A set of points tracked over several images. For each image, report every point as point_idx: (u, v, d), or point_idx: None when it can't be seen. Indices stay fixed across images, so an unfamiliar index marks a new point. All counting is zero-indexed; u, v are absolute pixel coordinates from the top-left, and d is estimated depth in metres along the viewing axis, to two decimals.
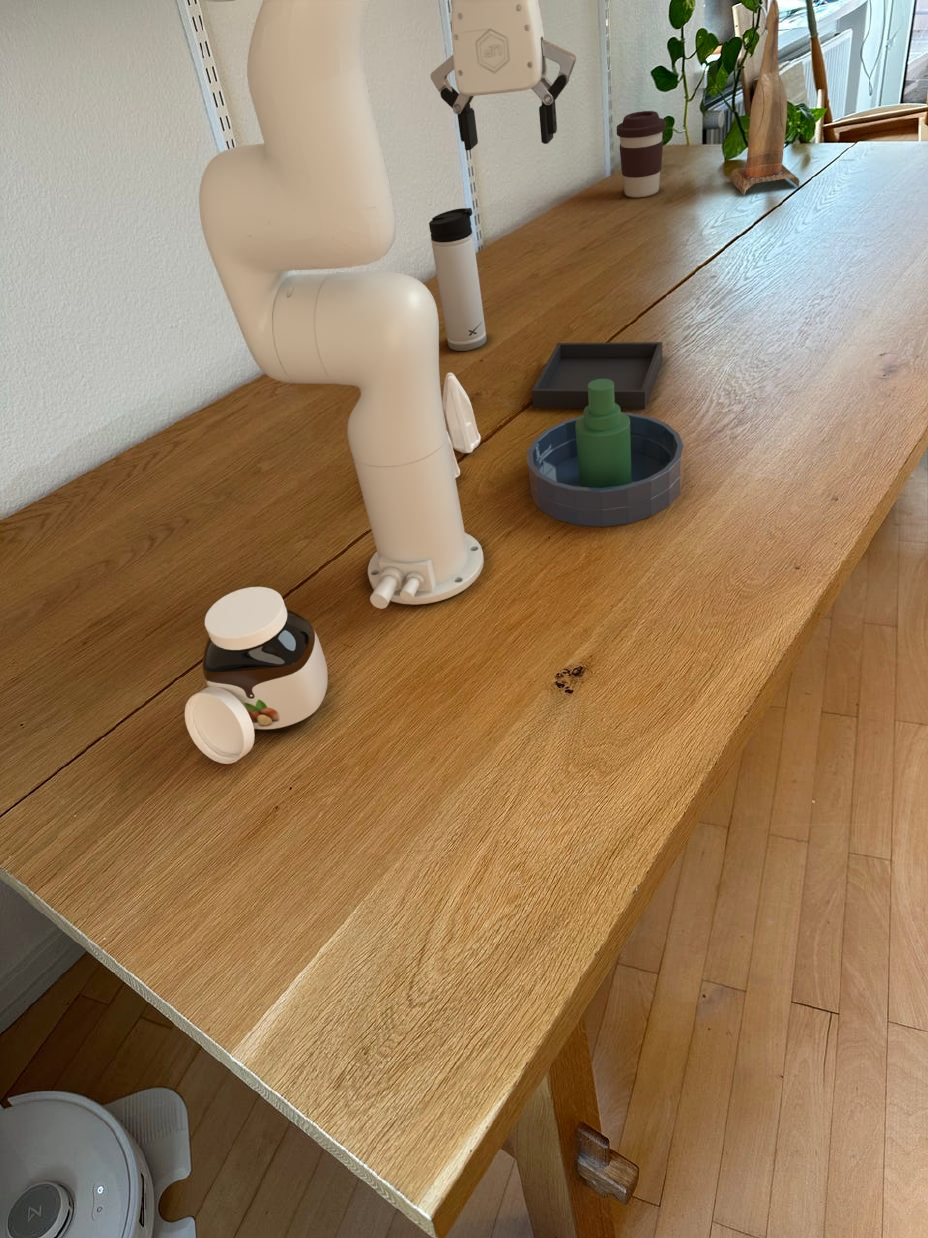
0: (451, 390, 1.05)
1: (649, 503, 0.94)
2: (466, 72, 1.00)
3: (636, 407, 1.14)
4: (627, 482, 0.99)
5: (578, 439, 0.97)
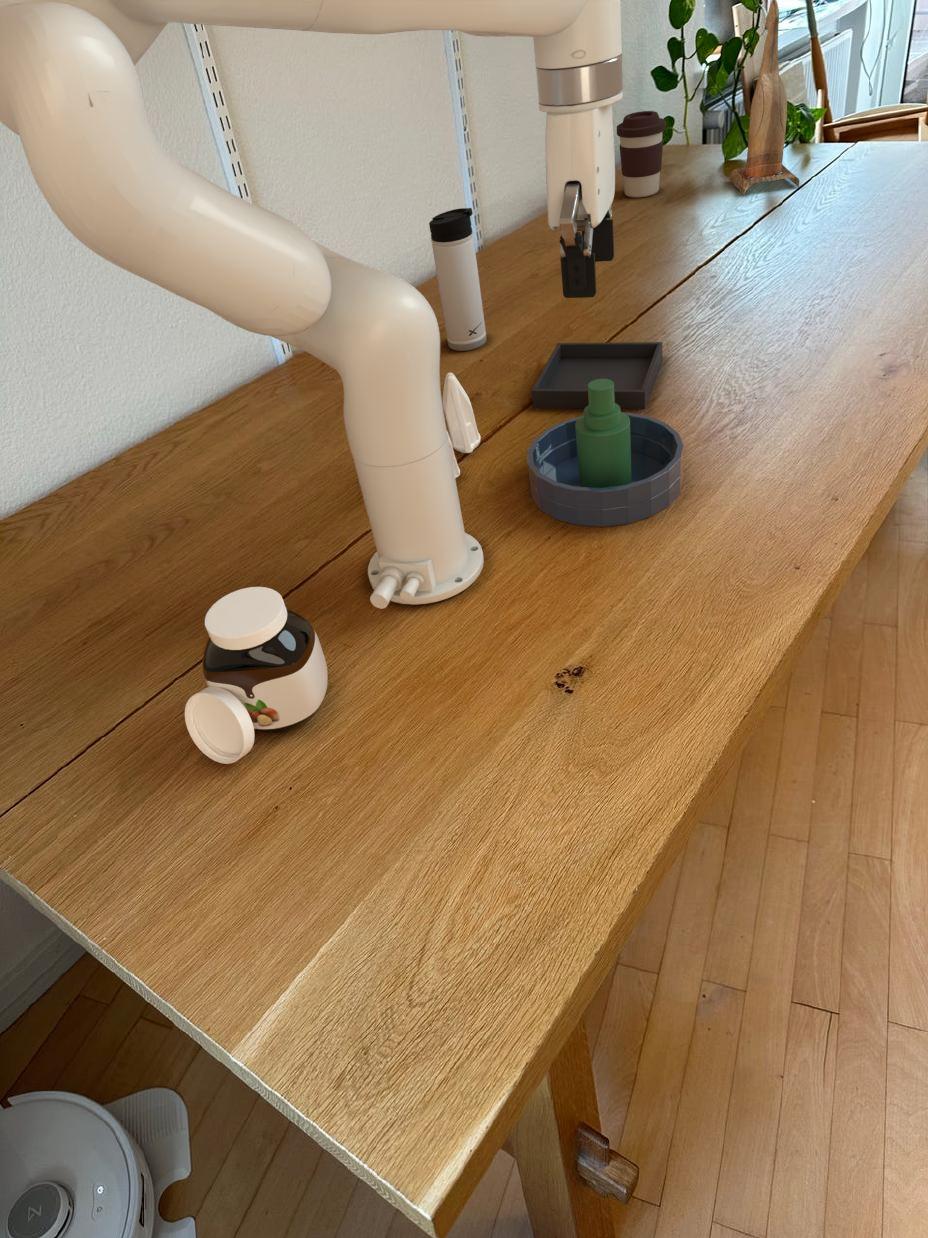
0: (451, 390, 1.05)
1: (649, 503, 0.94)
2: None
3: (636, 407, 1.14)
4: (627, 482, 0.99)
5: (578, 439, 0.97)
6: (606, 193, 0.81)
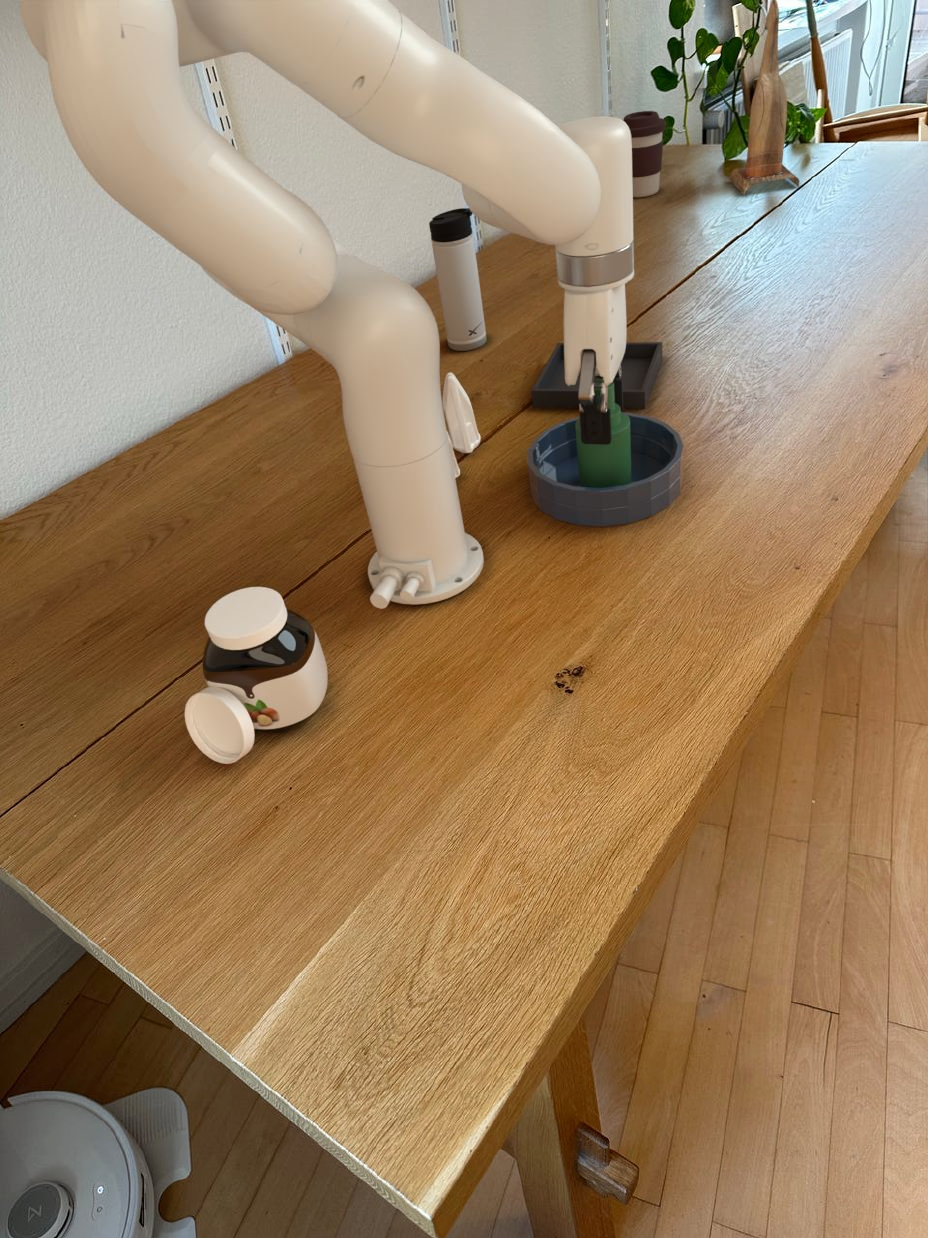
0: (451, 390, 1.05)
1: (649, 503, 0.94)
2: None
3: (636, 407, 1.14)
4: (627, 482, 0.99)
5: (578, 439, 0.97)
6: (618, 354, 0.89)
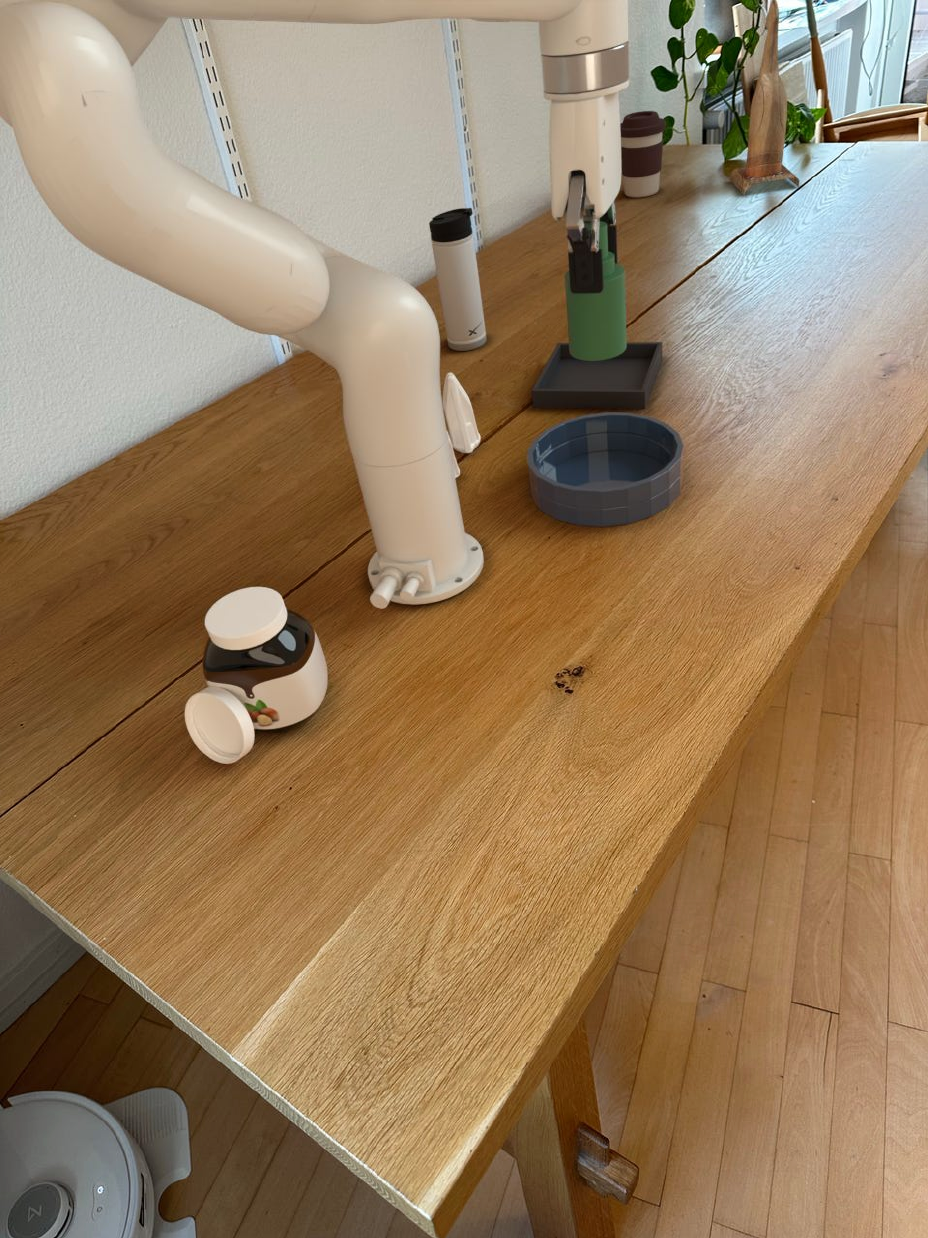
0: (451, 390, 1.05)
1: (649, 503, 0.94)
2: None
3: (636, 407, 1.14)
4: (621, 344, 0.90)
5: (567, 292, 0.87)
6: (611, 184, 0.80)
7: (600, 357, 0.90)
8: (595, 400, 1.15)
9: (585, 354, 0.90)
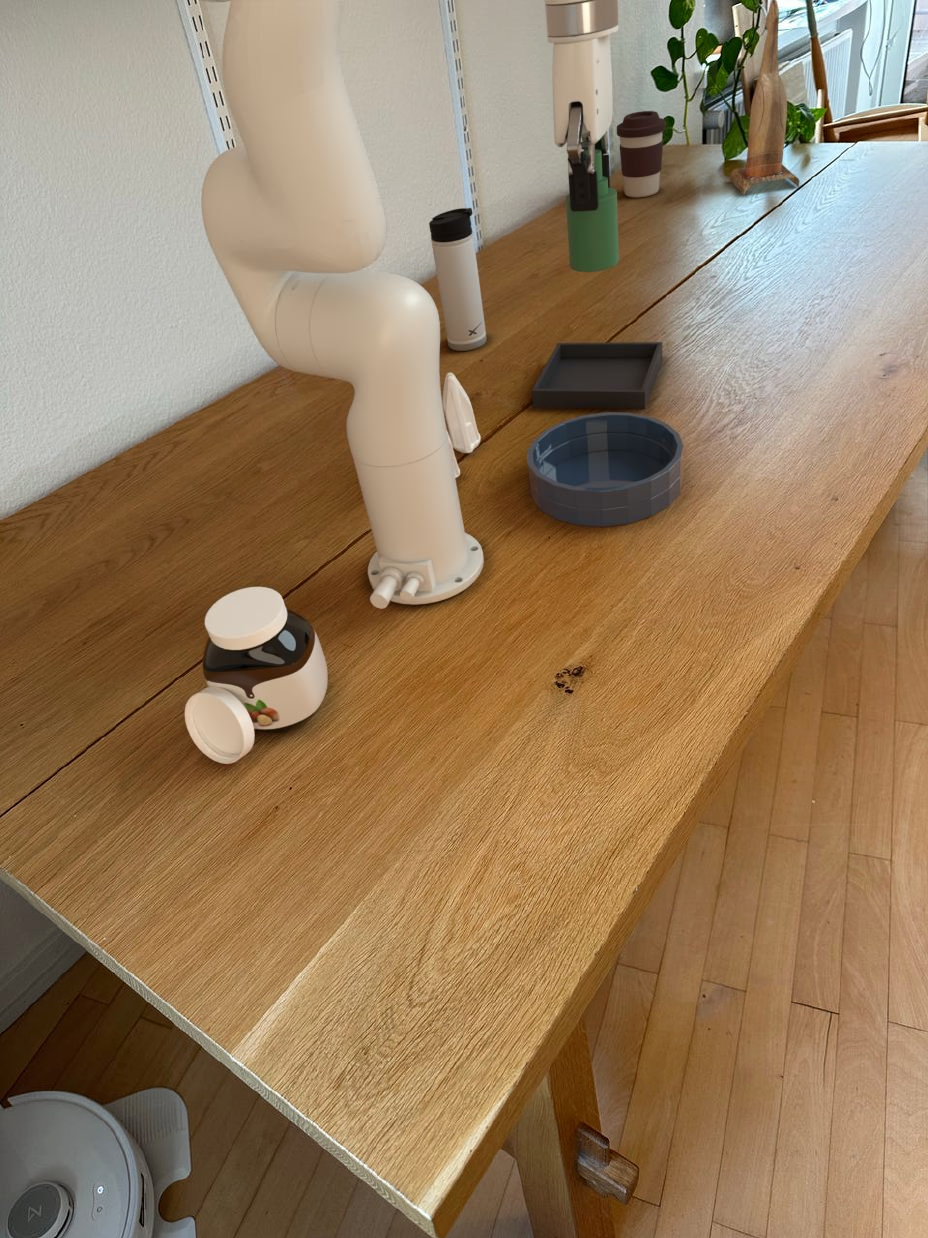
0: (451, 390, 1.05)
1: (649, 503, 0.94)
2: None
3: (636, 407, 1.14)
4: (614, 257, 1.05)
5: (568, 211, 1.03)
6: (604, 115, 0.96)
7: (596, 268, 1.05)
8: (595, 400, 1.15)
9: (584, 266, 1.05)
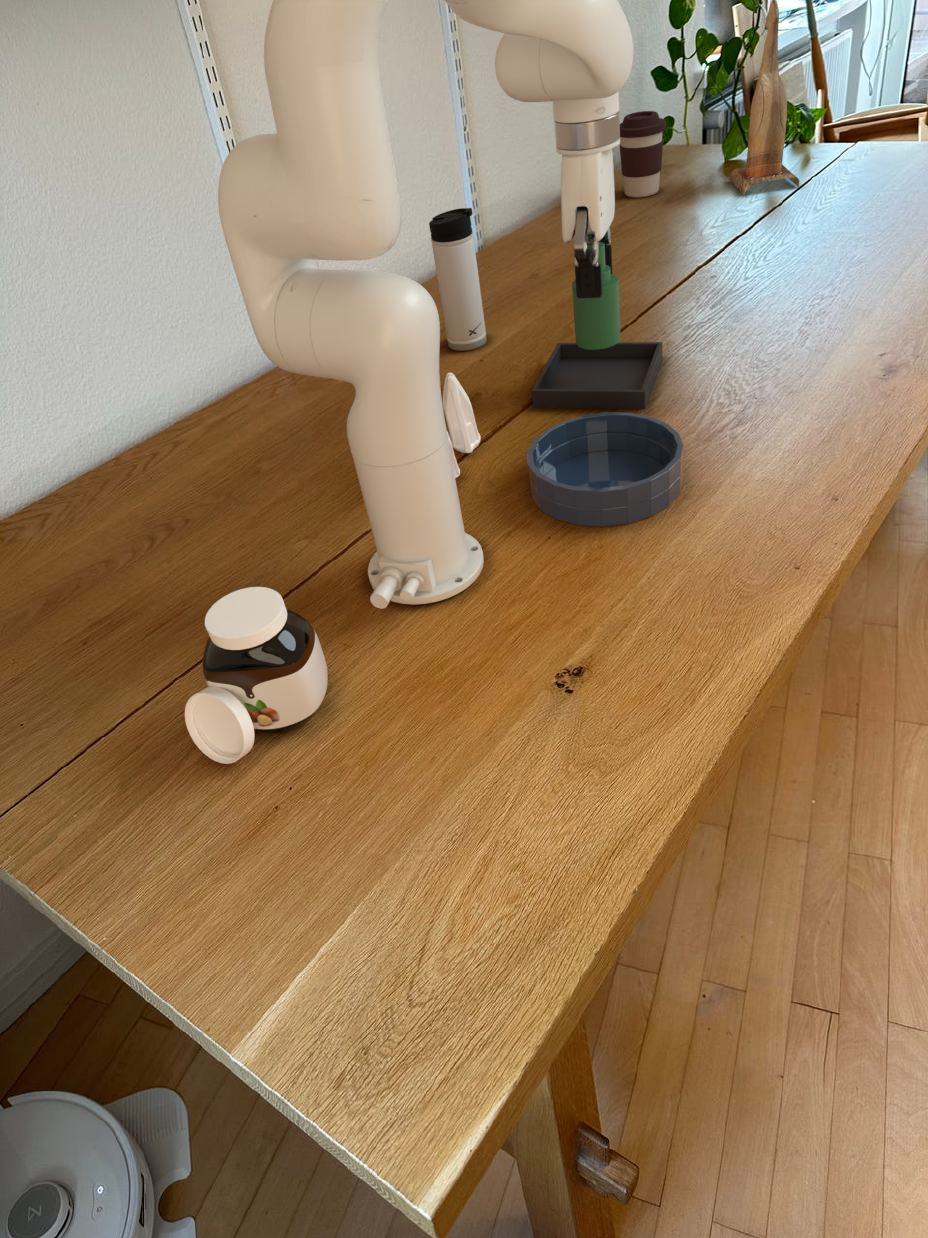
0: (451, 390, 1.05)
1: (649, 503, 0.94)
2: None
3: (636, 407, 1.14)
4: (616, 336, 1.15)
5: (574, 296, 1.13)
6: (607, 215, 1.06)
7: (600, 346, 1.15)
8: (595, 400, 1.15)
9: (588, 344, 1.16)
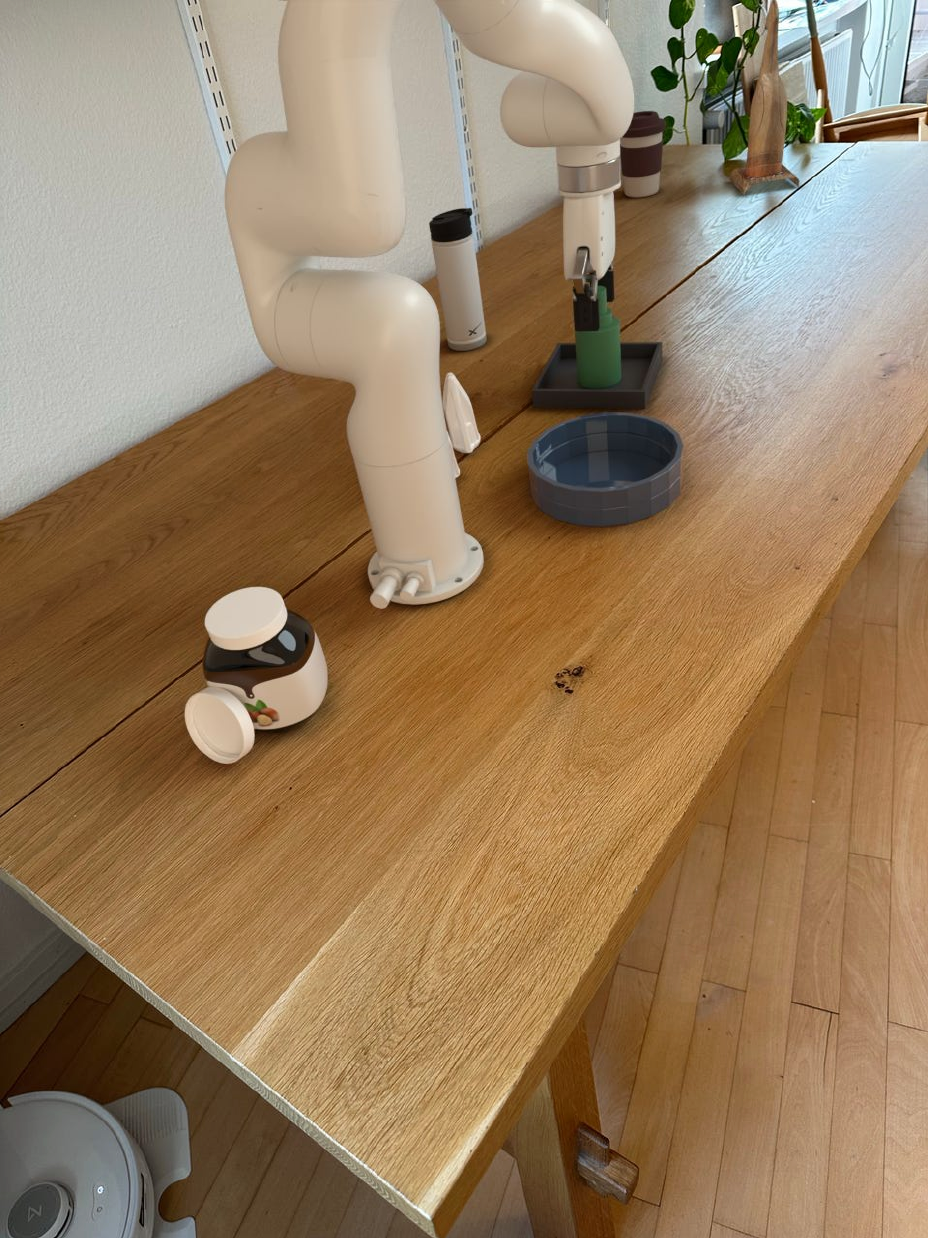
0: (451, 390, 1.05)
1: (649, 503, 0.94)
2: None
3: (636, 407, 1.14)
4: (617, 375, 1.19)
5: (577, 337, 1.17)
6: (608, 254, 1.08)
7: (601, 386, 1.19)
8: (595, 400, 1.15)
9: (590, 383, 1.19)
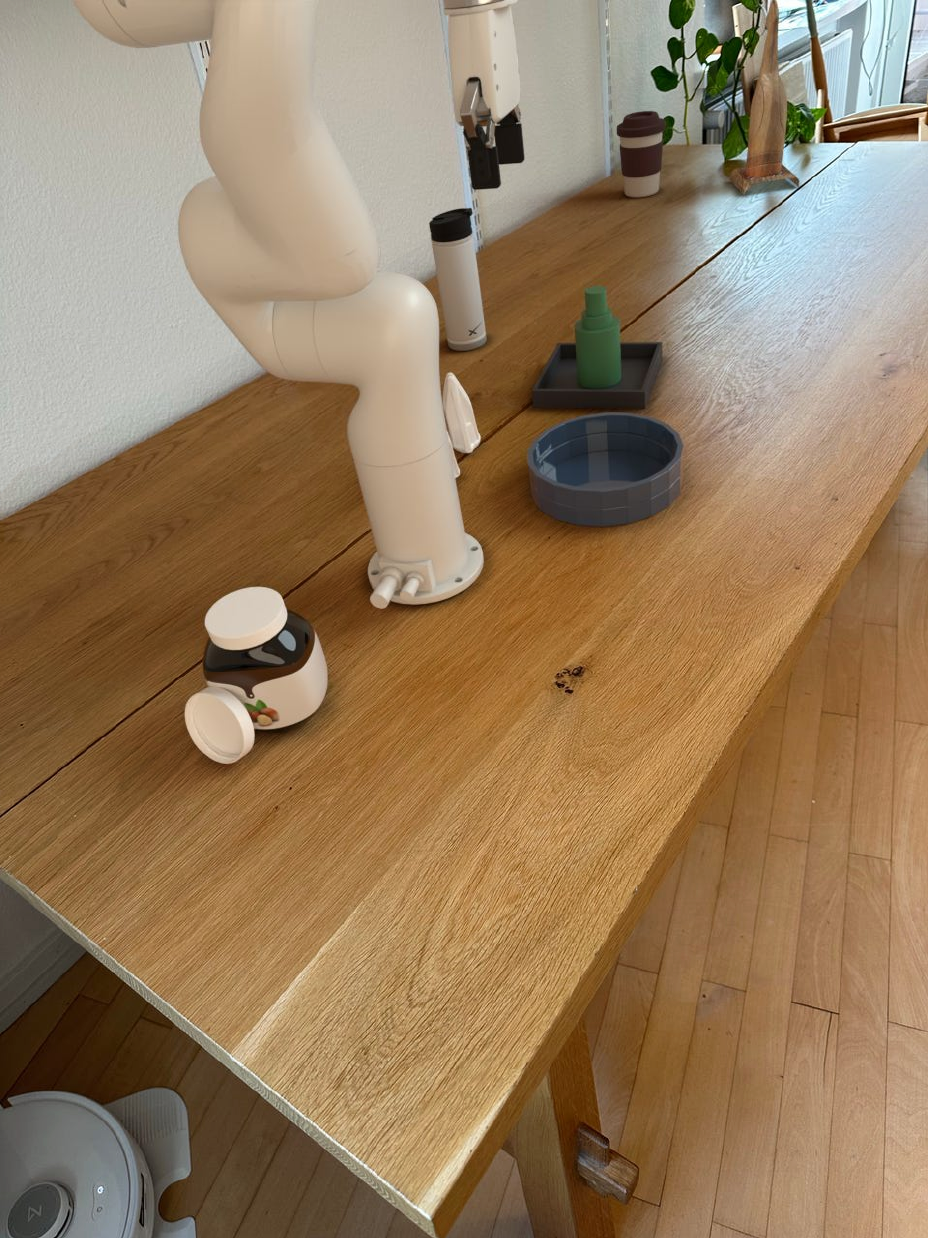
0: (451, 390, 1.05)
1: (649, 503, 0.94)
2: None
3: (636, 407, 1.14)
4: (617, 375, 1.19)
5: (577, 337, 1.17)
6: (507, 92, 0.91)
7: (601, 386, 1.19)
8: (595, 400, 1.15)
9: (590, 383, 1.19)
